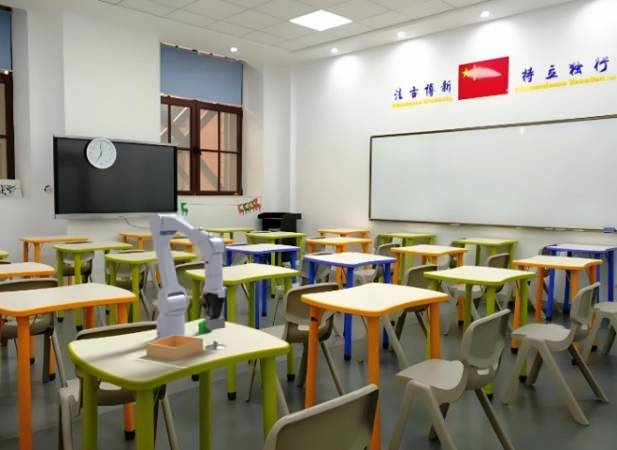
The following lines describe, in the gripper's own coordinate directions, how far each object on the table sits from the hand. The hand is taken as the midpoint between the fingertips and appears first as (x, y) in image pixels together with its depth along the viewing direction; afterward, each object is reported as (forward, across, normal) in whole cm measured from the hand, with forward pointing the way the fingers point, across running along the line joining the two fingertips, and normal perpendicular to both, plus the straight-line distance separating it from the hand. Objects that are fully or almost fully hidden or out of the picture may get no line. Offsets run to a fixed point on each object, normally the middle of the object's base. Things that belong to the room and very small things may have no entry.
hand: (214, 316), depth 164 cm
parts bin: (+10, +1, +13) cm, 17 cm away
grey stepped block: (+4, 0, 0) cm, 4 cm away
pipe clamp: (+11, +23, -6) cm, 26 cm away
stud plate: (+10, 0, 0) cm, 10 cm away
